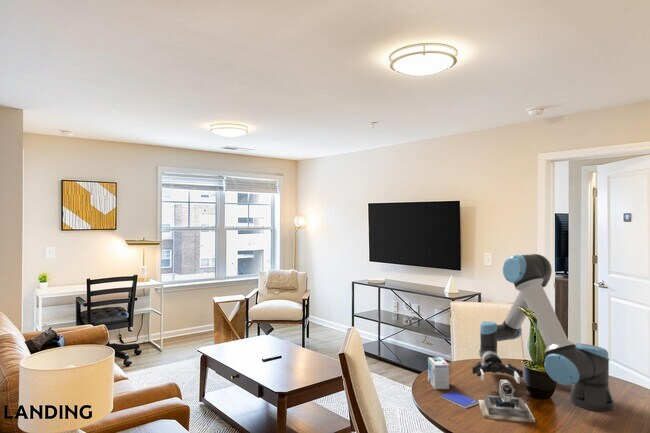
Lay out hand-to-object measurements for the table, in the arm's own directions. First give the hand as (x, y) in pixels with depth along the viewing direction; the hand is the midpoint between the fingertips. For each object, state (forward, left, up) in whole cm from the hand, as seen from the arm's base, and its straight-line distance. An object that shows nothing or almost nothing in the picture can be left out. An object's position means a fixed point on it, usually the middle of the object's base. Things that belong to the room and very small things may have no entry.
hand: (500, 378), depth 176 cm
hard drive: (+16, +4, -10) cm, 19 cm away
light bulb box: (+25, -11, -9) cm, 29 cm away
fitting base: (-1, +10, -9) cm, 13 cm away
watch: (-1, +10, -8) cm, 13 cm away
